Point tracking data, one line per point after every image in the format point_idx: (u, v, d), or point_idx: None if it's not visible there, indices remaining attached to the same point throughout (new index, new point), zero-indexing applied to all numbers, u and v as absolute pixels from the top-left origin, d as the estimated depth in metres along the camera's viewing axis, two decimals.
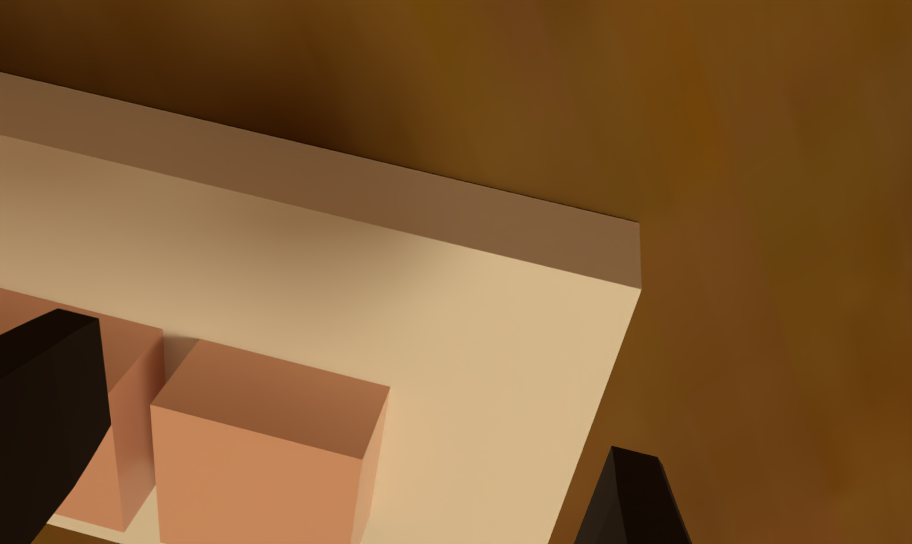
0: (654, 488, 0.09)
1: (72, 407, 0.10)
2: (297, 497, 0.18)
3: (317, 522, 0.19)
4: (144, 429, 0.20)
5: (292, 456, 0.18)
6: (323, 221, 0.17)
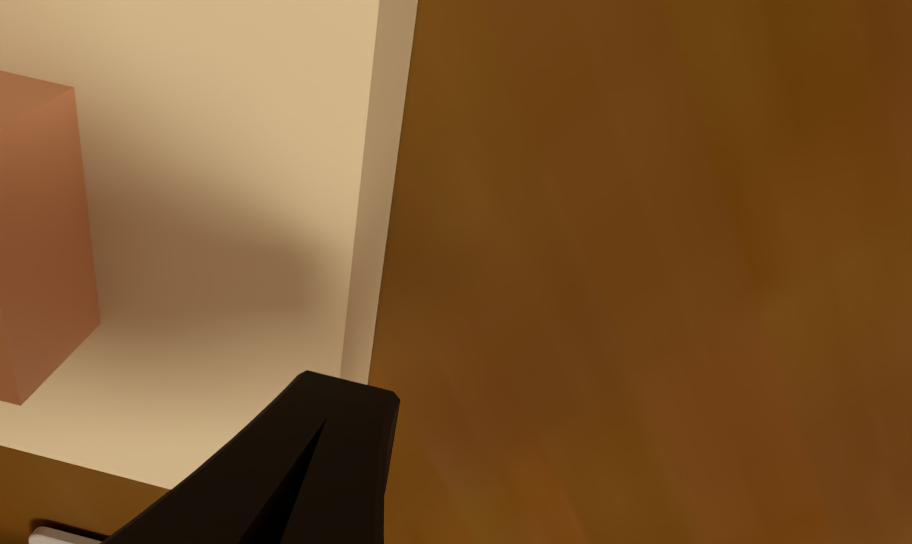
0: (368, 416, 0.09)
1: None
2: None
3: None
4: None
5: None
6: None
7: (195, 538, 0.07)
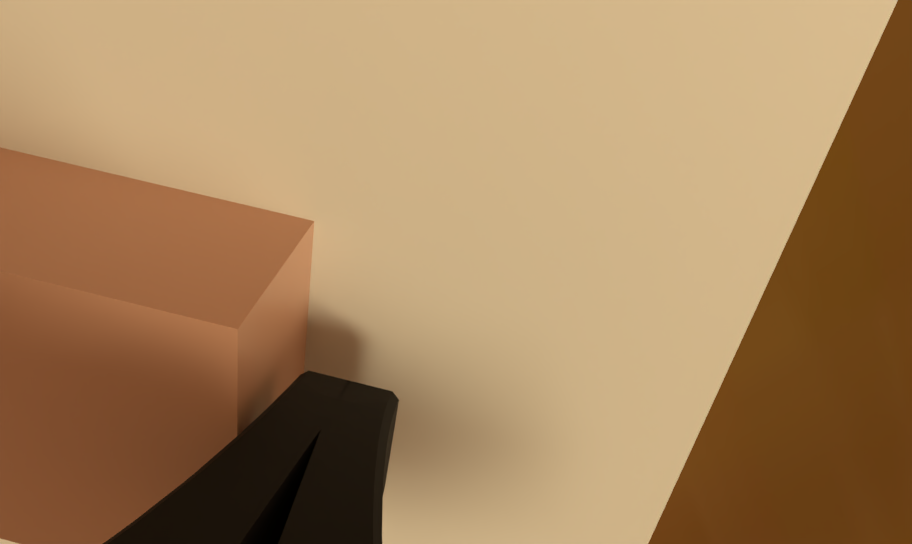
0: (366, 415, 0.09)
1: None
2: (126, 419, 0.09)
3: (170, 469, 0.10)
4: None
5: (101, 328, 0.09)
6: None
7: (197, 538, 0.07)
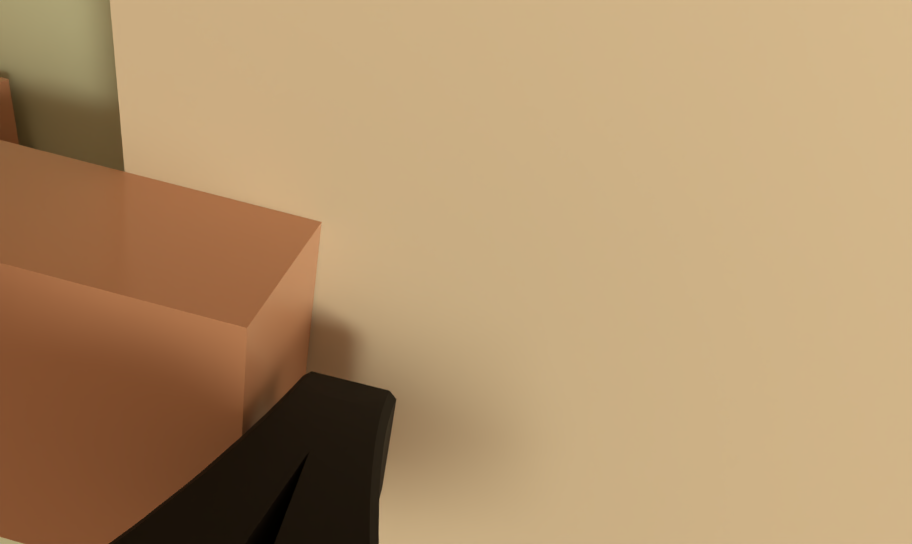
0: (364, 414, 0.09)
1: None
2: (129, 416, 0.09)
3: (173, 467, 0.10)
4: None
5: (108, 325, 0.09)
6: None
7: (202, 540, 0.07)
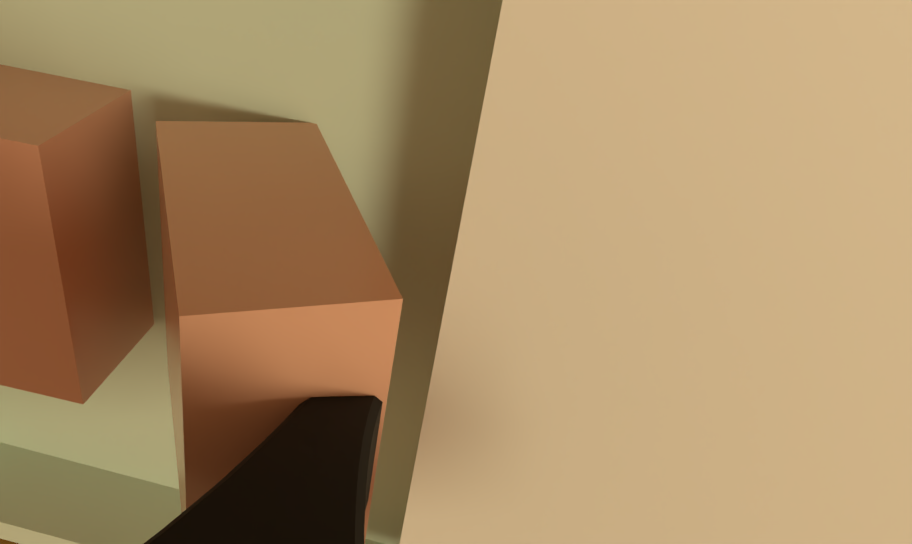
0: (353, 412, 0.09)
1: None
2: (175, 361, 0.10)
3: (179, 427, 0.10)
4: None
5: (171, 268, 0.10)
6: None
7: None
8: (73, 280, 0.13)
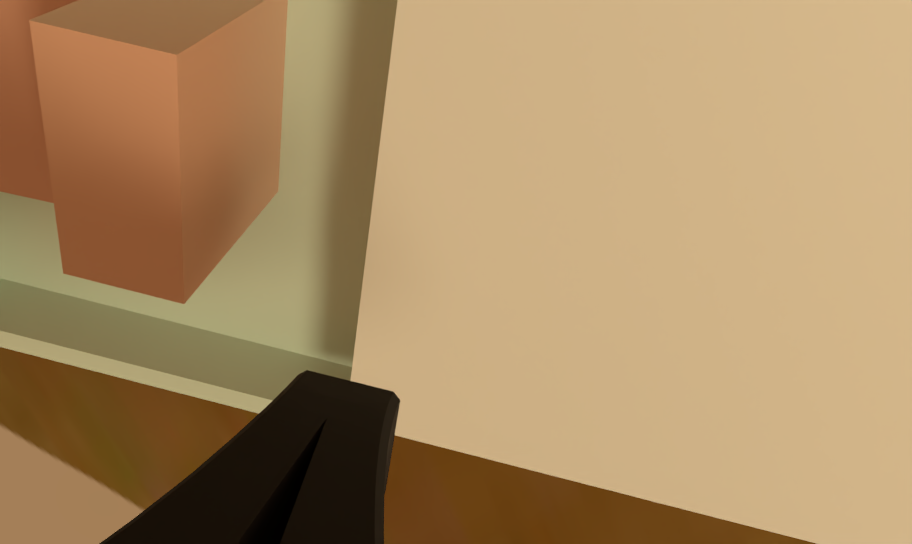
0: (368, 416, 0.09)
1: None
2: None
3: None
4: None
5: None
6: None
7: (195, 538, 0.07)
8: None
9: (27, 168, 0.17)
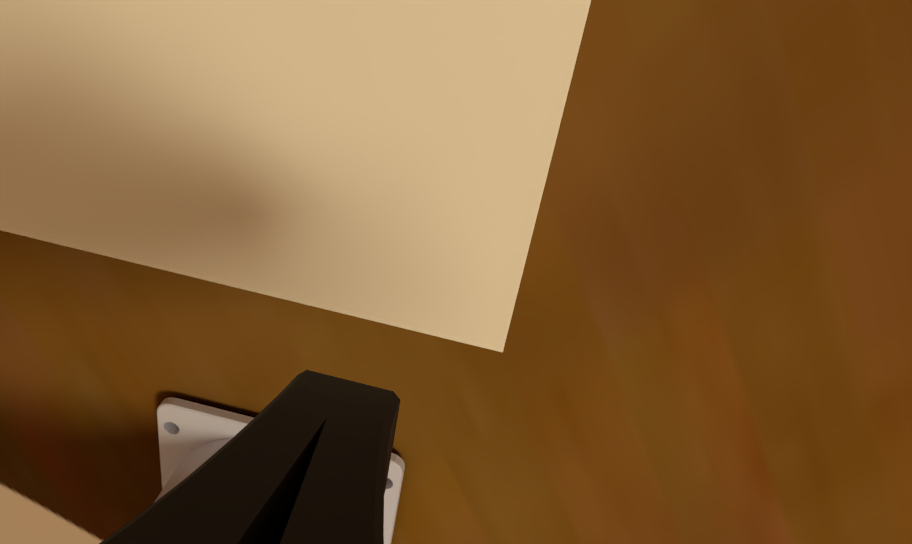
0: (368, 416, 0.09)
1: None
2: None
3: None
4: None
5: None
6: None
7: (195, 538, 0.07)
8: None
9: None
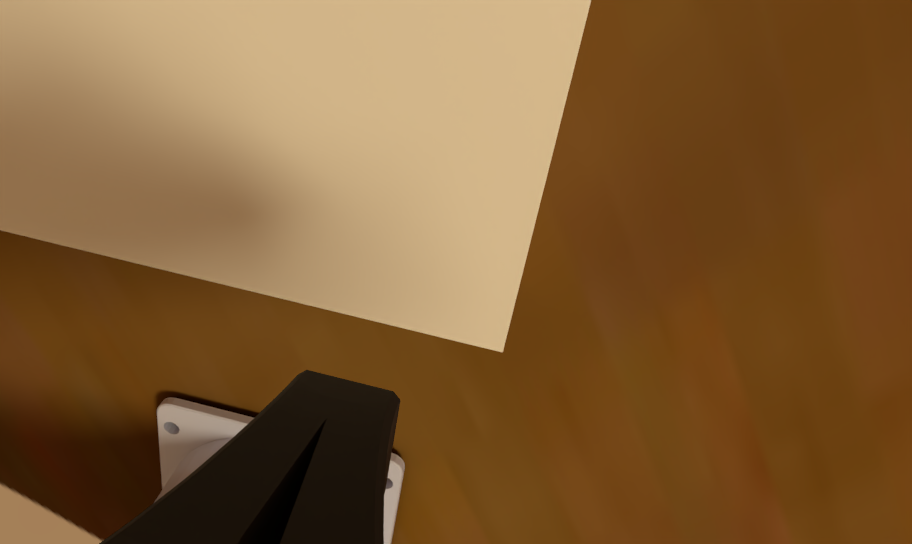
0: (368, 416, 0.09)
1: None
2: None
3: None
4: None
5: None
6: None
7: (195, 538, 0.07)
8: None
9: None
